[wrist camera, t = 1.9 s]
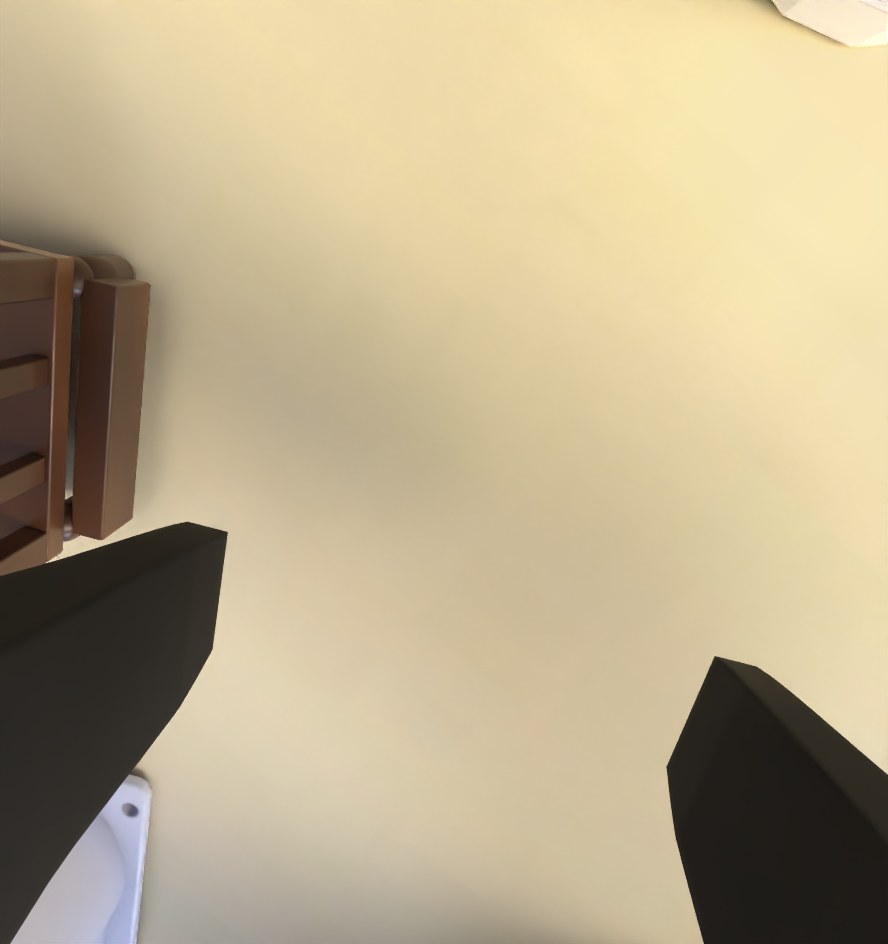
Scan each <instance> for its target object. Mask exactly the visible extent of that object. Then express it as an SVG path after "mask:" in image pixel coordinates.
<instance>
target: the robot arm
mask: <svg viewBox="0 0 888 944" xmlns="http://www.w3.org/2000/svg"><path fill="white" fill-rule="evenodd" d="M227 534H228V532H226V531H222V530H218V529H214V528H210V527H206V526H202V525H198V524H194V523H190V522H184V523H179V524H174V525H170V526H167V527H163V528H159V529H156V530H153V531H149V532H146V533H143V534H140V535H137V536H133V537H130V538H127V539H124V540H121V541H118V542H115V543H111V544H108V545H105V546H102V547H99V548H95V549H92V550H89V551H86V552H83V553H79V554H76V555H73V556H70V557H67V558H63V559H60V560H57V561H53V562H50V563H46V564H42V565H39V566H35V567H31V568H28V569H24V570H20V571H17V572H13V573H9V574H6V575H2V576H0V944H136V943H137V933H138V924H139V914H140V905H141V895H142V886H143V876H144V867H145V857H146V848H147V838H148V829H149V819H150V810H151V800H152V788H151V786H150V785H149V783H148V782H147V781H146V780H144V779H143V778H140V777H137V776H134V775H130V773H131V771H132V770H133V769H134V767H135V766H136V765H137V763H138V762H139V761H140V760H141V758H142V757H143V756H144V754H145V753H146V752H147V750H148V749H149V748H150V746H151V745H152V744H153V742H154V741H155V740H156V738H157V737H158V736H159V734H160V733H161V732H162V730H163V729H164V728H165V726H166V725H167V724H168V722H169V721H170V720H171V718H172V717H173V716H174V714H175V713H176V711H177V710H178V709H179V707H180V706H181V704H182V702H183V701H184V699H185V697H186V696H187V694H188V692H189V690H190V689H191V687H192V685H193V684H194V682H195V680H196V678H197V677H198V675H199V673H200V671H201V669H202V668H203V666H204V664H205V662H206V660H207V659H208V657H209V655H210V653H211V651H212V649H213V641H214V634H215V626H216V618H217V611H218V603H219V595H220V588H221V580H222V572H223V565H224V557H225V549H226V542H227ZM667 775H668V784H669V793H670V802H671V809H672V816H673V823H674V830H675V836H676V840H677V844H678V848H679V852H680V856H681V860H682V864H683V868H684V872H685V875H686V879H687V883H688V887H689V890H690V894H691V898H692V902H693V905H694V909H695V913H696V916H697V920H698V924H699V927H700V931H701V935H702V938H703V942H704V944H888V775H887V774H886V773H885V772H884V771H883V770H881V769H880V768H879V767H878V766H877V765H876V764H874V763H873V762H872V761H871V760H870V759H869V758H867V757H866V756H865V755H864V754H863V753H862V752H860V751H859V750H858V749H857V748H856V747H855V746H853V745H852V744H851V743H850V742H849V741H848V740H847V739H845V738H844V737H843V736H842V735H841V734H840V733H838V732H837V731H836V730H835V729H834V728H833V727H831V726H830V725H829V724H828V723H827V722H826V721H824V720H823V719H822V718H821V717H820V716H819V715H818V714H816V713H815V712H814V711H813V710H812V709H811V708H809V707H808V706H807V705H806V704H805V703H803V702H802V701H801V700H800V699H799V698H797V697H796V696H795V695H794V694H793V693H791V692H790V691H789V690H788V689H787V688H785V687H784V686H783V685H781V684H780V683H779V682H778V681H776V680H775V679H774V678H772V677H771V676H770V675H768V674H767V673H765V672H764V671H762V670H761V669H760V668H758V667H756V666H752V665H748V664H744V663H740V662H736V661H732V660H728V659H724V658H720V657H717V656H715V657H714V659H713V661H712V664H711V666H710V668H709V671H708V673H707V675H706V678H705V680H704V682H703V684H702V687H701V689H700V691H699V694H698V696H697V698H696V701H695V703H694V705H693V707H692V710H691V712H690V714H689V717H688V719H687V721H686V724H685V726H684V728H683V730H682V733H681V735H680V737H679V740H678V742H677V744H676V747H675V749H674V751H673V753H672V756H671V758H670V760H669V763H668V765H667Z"/></svg>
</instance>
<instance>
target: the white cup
mask: <svg viewBox="0 0 888 944" xmlns="http://www.w3.org/2000/svg"><path fill="white" fill-rule="evenodd" d="M772 1H773V3H774V4H775V6H776V7H777V9H778V10H779V12H780V13H781V14H782V15H783V16H785V17H787V18H789V19H791V20H793V21H795V22H798V23H800V24H802V25H804V26H806V27H808V28H811V29H813V30H815V31H817V32H819V33H821V34H824V35H826V36H828V37H830V38H832V39H834V40H836V41H839V42H841V43H843V44H845V45H847V46H849V47H865V46H876V45H888V0H772Z"/></svg>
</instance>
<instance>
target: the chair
mask: <svg viewBox="0 0 888 944" xmlns="http://www.w3.org/2000/svg"><path fill="white" fill-rule="evenodd" d="M150 287H151V285H150V284H149V283H148V282H144V281H140V280H136V279H135V273H134V270H133V268H132V266H131V265H130V264H129V262H127V261H126V260H125V259H123V258H121V257H119V256H115V255H90V256H64V255H60V254H56V253H52V252H48V251H43V250H39V249H35V248H31V247H27V246H23V245H19V244H15V243H11V242H7V241H3V240H0V576H2V575H6V574H9V573H13V572H17V571H20V570H24V569H28V568H31V567H35V566H39V565H42V564H45V563H46V562H48V561H49V560H51V559H52V558H54V557H55V556H57V555H58V554H60V553H61V552H62V550H63V541H70V540H73V539H75V538H77V537H78V536H80V535H82V536H86V537H90V538H94V539H97V540H103V539H105V538H106V537H108V536H109V535H110V534H112V533H113V532H114V531H116V530H117V529H119V528H120V527H121V526H123V525H124V524H126V523H127V522H128V521H130V520H131V519H132V517H133V504H134V492H135V479H136V466H137V453H138V441H139V428H140V415H141V402H142V389H143V377H144V364H145V351H146V338H147V325H148V313H149V300H150ZM73 300H81V319H80V342H79V364H78V386H77V409H76V431H75V454H74V476H73V496H71V497H70V498H68V499H66V500H65V480H66V455H67V430H68V405H69V381H70V356H71V331H72V306H73Z"/></svg>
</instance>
